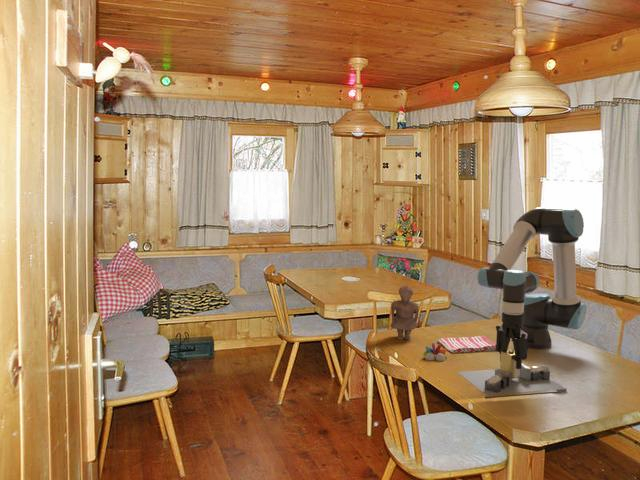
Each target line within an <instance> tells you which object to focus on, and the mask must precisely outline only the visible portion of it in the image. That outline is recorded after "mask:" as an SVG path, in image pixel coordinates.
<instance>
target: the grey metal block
mask: <svg viewBox="0 0 640 480" xmlns="http://www.w3.org/2000/svg"><path fill="white" fill-rule="evenodd" d="M550 376H551V371H550V367H549V366H548V365H538V366H537V365H536V366H528V365H526V364H525V363H522V366H521V371H520V378H521V379H523V380H524V381H526V382H530V380H532V381H539V378H541V379H542V380H550V379H551V377H550Z"/></svg>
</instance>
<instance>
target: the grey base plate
mask: <svg viewBox="0 0 640 480" xmlns="http://www.w3.org/2000/svg"><path fill="white" fill-rule="evenodd" d="M495 369H496V368H494V369H483V370H482V369H480V370H468V371H467V370H464V371H457V373H458V374H459V376H462V377H463V378H464V379H465V380H467V381H468V382H469V383H470V384H471V385H473V386H474V387H475V388H477V390H479V391H480V392H482V393H483V394H484V395H485V396H484V398H485V399H494V398H496V399H497V398H509V397H521V396H523V397H524V396H532V395H533V396H534V395H545V394H547V395H548V394H557V393H558V394H560V393H568V389H567V387H564V386H563V385H561V384H559V383H558V382H556V381H555V380H553V379H551V378H550V380H542V379H541V378H539V381H532V380H530V382H526V381H524V380H523V379H521V378H520V377H519V378H514V379H511V386H510V387H508V386H506V388H505V389H501V391H500V392H498V393H496V392H493V391H489V390H486V389H485V380H487V379H490V378H491V377H492V376H495ZM531 392H532V393H531ZM535 392H536V393H535ZM518 393H519V394H518ZM520 393H521V394H520ZM504 394H505V395H504ZM506 394H507V395H506ZM509 394H510V395H509ZM492 395H493V396H492ZM494 395H495V396H494Z"/></svg>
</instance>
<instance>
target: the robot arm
mask: <svg viewBox="0 0 640 480" xmlns="http://www.w3.org/2000/svg"><path fill="white" fill-rule="evenodd" d="M513 224H514V225H513V227H512V232H511V234H510V235H509V236H508V237H507V240H506V241H505V243H504V244H503V246H502V247H501V249H500V250H499V252H498V253H497V255H496V256H495V258H494V260H493V261H492V263H490V266H489V267H482V268H480V269H479V271H478V272H477V281H478V284H479V285H480V286H482V287H484V288H489V289H490V288H491V289H497V290H498V289H499V290H502V305H501V306H502V307H501V310H502V313H501V322H502V324H499V325H496V326H495V329H496V342H495V344H496V352H497V353H499V356H500V357H499V362H500V363H501V351H506V350H509V345H510V341H511V342H512V345H513V351H514V352H515V359H514V362H513V377H514V378H515V377H519V376H520V369H521V366H522V361H525V360H527V358H528V349H532V350H546V349H550V348H551V347H552V337H551V334H550V331H549V326H552V327H553V326H554V327H559V328H564V329H568V330H569V329H571V330H579V329H580V328H581V327H582V325H583V324H584V321H585V318H586V315H587V306H586V304H585V303H584V302H582V301H581V300H582V298H581V296H579V294H578V293H577V292H578V291H577V271H576V270H577V269H576V267H577V266H576V265H577V264H576V247H575V246H576V245H575V244H576V242H578V241H579V238H581V237H582V236H583V233H584V226H585V223H584V218H583V215H582V213H581V211H580V210H578V209H577V208H571V207H567V206H566V207H558V206H557V207H553V206H552V207H550V206H538V207H535V208H532V209H530V210H528V211H527V212H525V213H523V214H522V215H521V216H520V217H519V218H518V219H517V220H516V222H515V223H513ZM537 235H545V236H546V235H547V236H548V237H547V238H548V239H547V240H548V242H549V243H551V244H552V260H553V261H552V262H553V277H554V278H553V280H554V281H553V282H554V294H553V295H552V296H550V294H549V293H532V292H534V291H535V290H537V289H539V287H540V284H541V280H540V277H539V275H538V274H537V273H535V272H534V271H524V270H521V269H520V270H519V269H513V268H514V266H515V264H516V263H517V261H518V260H519V258H520V256H521V254H522V253H523V252H524V249H526V247H527V245H528V243H529V242H530V241H531V240H533V239H534V238H535V237H536V236H537ZM528 293H531V294H528ZM499 347H500V348H499Z"/></svg>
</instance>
